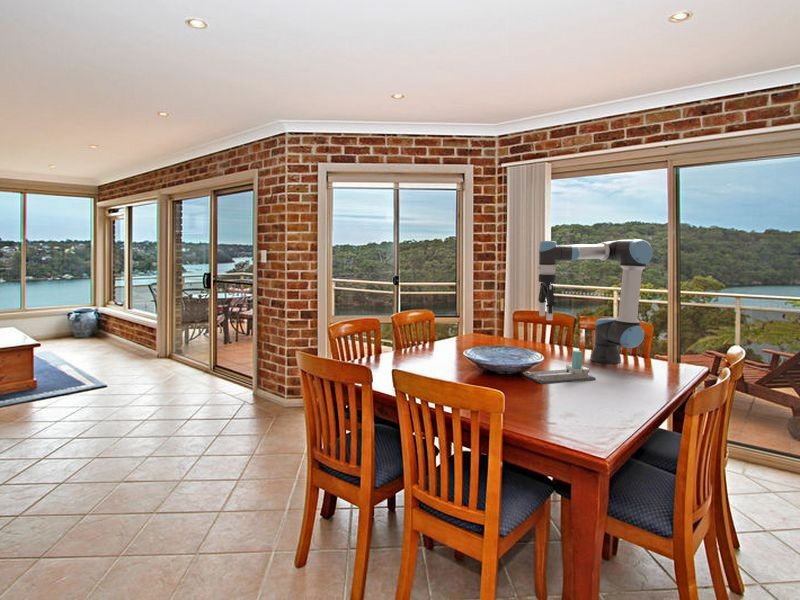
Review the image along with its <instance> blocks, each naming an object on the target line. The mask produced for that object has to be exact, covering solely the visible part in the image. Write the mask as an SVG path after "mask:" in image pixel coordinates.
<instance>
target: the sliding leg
mask: <svg viewBox="0 0 800 600" xmlns="http://www.w3.org/2000/svg"><path fill="white" fill-rule="evenodd" d="M571 358H572V359H571V360H572V361H571V363H572V364H566V365H565V370H567V373H569V370H571V371H572V372H574V373H576V374H577V373H582V367H583V365H582V363H583V351H581V350H572V355H571Z"/></svg>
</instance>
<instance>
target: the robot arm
mask: <svg viewBox="0 0 800 600" xmlns="http://www.w3.org/2000/svg"><path fill="white" fill-rule="evenodd" d="M653 254H654V250H653V247H652V245H651V244H650V243H649V242H648V241H646V240H644V239H638V238H636V239H635V238H634V239H618V240H617V239H616V240H612V241H602V242H600V243H596V244H595V243H594V244H593V243H592V244H591V243H590V244H585V243H582V244H557V241H555V240H542V241H540V243H539V249H538V255H539V256H538V267H537V268H538V273H539V274H538V282H539V283H540V285H539V287H540V288H539V294H538V299H537V300H538V302H539V310H538V312H539V313H538V316H539V317H545V316H546V321H553V320H554V319H553V318H554V306H555V304H556V303H555V296H554V295H555V294H554V285H553V284H552V283H555V282H556V269H557V268H556V265H557V263H556V262H574V261H577V260H600V261H604V262H605V261H607V262H608V261H610V262H616V263H619V266H620V268H621V269H622V277H621V288H620V297H619V306H618V307H619V309H618V316H617V317H616V318H614V317H611V318H610V317H609V318H606V317H605V318H598V319H596V321H595V325H594V346H593V349H592V351H591V354H590V360H591V362H595V363H597V364H598V363H600V364H606V365H607V364H609V365H616V364H619V363H621V362H622V356H621V353H620V350H619V349H620V348H619V346H621V347H623V348H628V349H635V348H636V347H639V345H641V344H642V342H643V341H644V339H645V338H644V337H645V331H644V329H643V328H642V327H641V320H640V319H638V315H639V314H638V313H639V304H640V294H641V283H642V273H643V270H644V269H645V268H646V267H647V263H649V262H650V261H651V259H652V258H653Z"/></svg>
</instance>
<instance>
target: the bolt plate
mask: <svg viewBox="0 0 800 600" xmlns="http://www.w3.org/2000/svg"><path fill="white" fill-rule="evenodd" d="M557 373H567V369H556V370H541V371H539V370H538V371H528V370H526V371H525V372H524V371H523V372H522V374H524V375H523V376H525V377H527V378H529V379H531V380H533V381H534V382H537V383H538V384H540V385H541V384H555V383H569V382H570V383H571V382H583V381H585V382H586V381H596V377H595V376H593V375H591V374H588V377H580V378H565V379H551V380H544V379H540V380H538V379H537V375H541V374H557ZM569 373H572V371H571V370H569Z"/></svg>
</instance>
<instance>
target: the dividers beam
mask: <svg viewBox="0 0 800 600" xmlns="http://www.w3.org/2000/svg"><path fill="white" fill-rule="evenodd" d="M590 370H591V369H590V368H589V367H586V366H582V373H577V374H576V373H574V372H572V373H557V374H541V375H537V379H538V380H540V379H544V380H551V379H565V378H580V377H588V375H589V374H590V372H591V371H590Z"/></svg>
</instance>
